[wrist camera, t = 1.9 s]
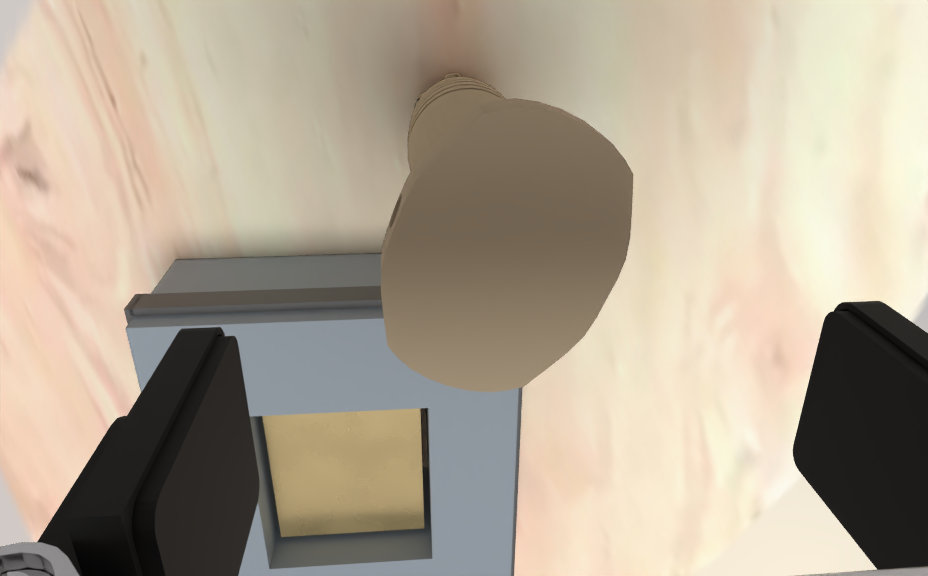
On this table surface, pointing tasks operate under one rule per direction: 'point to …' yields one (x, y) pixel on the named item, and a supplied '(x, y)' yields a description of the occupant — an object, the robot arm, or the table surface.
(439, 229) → the handle
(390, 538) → the collar block
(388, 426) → the plate
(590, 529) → the table surface
